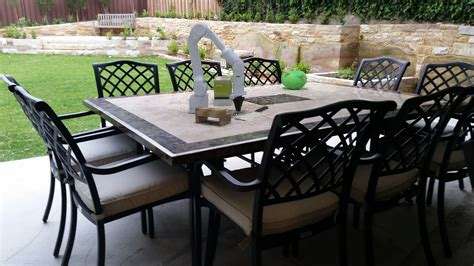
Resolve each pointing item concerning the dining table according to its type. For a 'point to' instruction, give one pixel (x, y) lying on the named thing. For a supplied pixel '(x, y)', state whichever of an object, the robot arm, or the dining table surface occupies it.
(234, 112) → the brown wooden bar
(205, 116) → the wooden bridge block
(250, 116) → the kitchen cleaver
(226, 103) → the tea box
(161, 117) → the dining table surface
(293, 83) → the green cabbage
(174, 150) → the dining table surface
